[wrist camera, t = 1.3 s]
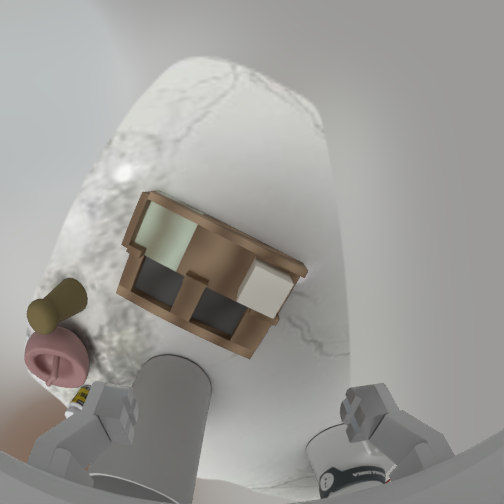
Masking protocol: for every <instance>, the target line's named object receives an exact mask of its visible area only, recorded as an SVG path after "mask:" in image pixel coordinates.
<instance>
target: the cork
mask: <svg viewBox="0 0 504 504" xmlns="http://www.w3.org/2000/svg"><path fill="white" fill-rule="evenodd" d="M86 305H87V294H86V291H85V289H84V287H83V286H82V285H81V283H80V282H78V281H77V280H75V279H73V278H67V279H64V280H63V281H62V282H61V283H60V284H59V285H58V286H57V287H55V288H54V289H53V290H52V291H51V292H50V293H49V294H48V295H47V296H46V297H45V298H44V299H37V300H34V301H33V302H32V303H31V304H30V305H29V307H28V310H27V318H28V322H29V324H30V326H31V327H32V328H33V330H35V331H36V332H37V333H39V334H42V335H47V334H50V333H52V332H53V331H54V330H55V328H56V327H57V324H58V323H59V322H61V321H63V320H65V319H67V318H69V317H71V316H73V315H75V314H77V313H79V312H81V311H83V310H84V309H85V307H86Z"/></svg>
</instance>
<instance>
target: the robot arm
mask: <svg viewBox="0 0 504 504" xmlns="http://www.w3.org/2000/svg"><path fill="white" fill-rule="evenodd" d="M346 396H347V398H346V399H345V400H344V401H342V404H341V407H340V415H341V419H342V422H343V423H344V424H343V425H339V426H336V427H333V428H330V429H328V430H326V431H324V432H322V433H320V434H319V435H317V436H316V437H315V438H314V439H313V440H312V441H311V442H310V443H309V444H308V446H307V448H306V455H307V457H308V459H309V461H310V463H311V468H312V470H313V471H314V472H315V475H316V478H317V480H318V483H319V492H320V497H321V499H318V500H312V501H305V502H298V503H290V504H504V429H502V430H501V431H499V432H497V433H496V434H494V435H493V436H491V437H489V438H488V439H486V440H484V441H482V442H481V443H479V444H477V445H476V446H474V447H472V448H470V449H468V450H466V451H464V452H462V453H460V454H458V455H456V456H455V455H454V453H453V452H452V450H451V448H450V446H449V444H448V442H447V441H446V439H445V437H444V435H443V434H441V433H440V432H438V431H436V430H434V429H433V428H431V427H429V426H428V425H426V424H424V423H423V422H421V421H419V420H418V419H416V418H414V417H413V416H411V415H409V414H408V413H406V412H405V411H403V410H402V411H399V408H398V407H397V405H396V403H395V401H394V399H393V398H392V396H391V394H390V392H389V390H388V388H387V387H386V385H385V384H384V383H380V384H374V385H366V386H360V387H353V388H349V389H348V390H347V392H346ZM133 397H134V390H133V388H132V387H126V386H120V385H115V384H110V383H104V382H99V381H95V382H94V383H93V384H92V386H91V388H90V391H89V393H88V396H87V398H86V400H85V403H84V405H83V408H82V410H81V412H80V411H77V412H76V413H74V414H73V415H71V416H70V417H68V418H67V419H65V420H64V421H62V422H61V423H59V424H58V425H56V426H55V427H53V428H52V429H50V430H49V431H48V432H46V433H44V434H43V435H41V436H40V437H38V438H37V440H36V442H35V444H34V447H33V449H32V452H31V454H30V457H29V459H28V462H27V463H24V462H22V461H20V460H18V459H16V458H14V457H12V456H10V455H8V454H6V453H4V452H2V451H0V504H173V503H165V502H157V501H151V500H145V499H139V498H134V497H129V496H124V495H119V494H115V493H111V492H107V491H103V490H99V489H95V488H92V487H93V483H94V480H93V479H92V477H91V476H90V475H89V474H88V473H87V472H86V471H85V470H84V469H85V468H86V467H87V466H88V465H89V464H90V463H91V462H92V461H93V460H95V459H96V458H97V457H98V456H99V455H100V454H101V453H102V452H103V451H104V450H105V449H106V448H107V447H108V446H109V445H110V444H111V442H115V443H121V444H127V445H132V442H133V438H134V433H135V431H134V428H133V425H135V424H136V423H137V420H138V412H139V409H138V403H137V400H135V399H134V398H133ZM394 463H395V464H396V465H397V467H396V468H395V469H394V470H393V471H392V472H391V473H390V475H389V477H390V479H389V480H388V481H386V482H385V474H386V473H387V472H388V471H389V469H390V468H391V467H392V466H393V465H394ZM390 480H391V482H389V481H390Z"/></svg>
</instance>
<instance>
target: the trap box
mask: <svg viewBox="0 0 504 504" xmlns="http://www.w3.org/2000/svg"><path fill="white" fill-rule="evenodd" d="M121 245H123V246H125V247H126V248H127V251H126V252H128V253H130V255H129V258H128V260H127V263H126V266H125V269H124V271H123V274H122V277H121V280H120V283H119V286H118V289H117V292H116V293H117V294H118V295H120V296H122V297H124V298H125V299H127V300H129V301H131V302H133V303H134V304H136V305H138V306H140V307H142V308H144V309H145V310H147V311H149V312H151V313H153V314H155V315H157V316H159V317H161V318H163V319H164V320H166V321H168V322H170V323H172V324H174V325H176V326H178V327H180V328H182V329H184V330H186V331H188V332H191V333H193V334H195V335H197V336H199V337H201V338H203V339H205V340H207V341H210V342H212V343H214V344H216V345H218V346H221V347H223V348H225V349H227V350H229V351H232V352H234V353H236V354H239V355H241V356H243V357H246V358H248V359H250V358H251V357H252V355H253V354H254V352H255V351H256V349H257V347H258V346H259V344H260V343H261V341H262V339H263V338H264V336H265V334H266V333H267V331H268V330H269V328H270V326H271V325H275V326H276V325H277V323H278V321H279V315H278V313H279V311H280V310H281V308H282V306H283V305H284V303H285V301H286V300H287V298H288V296H289V295H290V293H291V291H292V290H293V288H294V286H295V284H296V283H297V281H298V279H299V277H300V276H301V277H303V278H305V276H306V274H307V273H308V270H307V269H306V267H305V266H304V264H303V263H302V262H300V261H298V260H296V259H294V258H292V257H290V256H288V255H286V254H284V253H282V252H280V251H278V250H276V249H274V248H272V247H270V246H269V245H267V244H265V243H263V242H261V241H259V240H257V239H255V238H253V237H251V236H249V235H247V234H245V233H243V232H241V231H239V230H237V229H235V228H233V227H231V226H229V225H227V224H225V223H223V222H221V221H219V220H217V219H215V218H213V217H211V216H209V215H207V214H205V213H203V212H201V211H199V210H197V209H195V208H193V207H191V206H189V205H187V204H185V203H183V202H181V201H179V200H177V199H175V198H173V197H171V196H169V195H167V194H165V193H163V192H161V191H154V192H153V191H151V192H142V194H141V197H140V199H139V201H138V204H137V206H136V209H135V211H134V213H133V216H132V218H131V221H130V223H129V226H128V228H127V231H126V234H125V236H124V239H123V242H122V244H121ZM255 257H257V258H259V259H261V260H263V261H265V262H267V263H269V264H271V265H273V266H275V267H277V268H279V269H281V270H283V271H285V272H287V273H289V274H290V276H291V279H292V281H293V284H294V285H293V287H292V289H291V290H290V292H289V294H288V295H287V297H286V299H285V300H284V302H283V304H282V306H281V307H280V309H279V311H278V312H277V314H276V316H275V317H274V319H272V318H270V317H268V316H266V315H264V314H262V313H259V312H257V311H255V310H253V309H251V308H249V307H247V306H244V305H242V304H240V303H238V302H237V294H238V288H239V287H240V285H241V283H242V281H243V279H244V277H245V275H246V274H247V272H248V270H249V268H250V266H251V264H252V262H253V260H254V259H255Z"/></svg>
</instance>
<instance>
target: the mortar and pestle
mask: <svg viewBox="0 0 504 504" xmlns="http://www.w3.org/2000/svg"><path fill="white" fill-rule="evenodd" d="M24 360H25V363H26V365H27V367H28V368H29V370H30V371H31V372H32V373H33V374H35V375H36V376H37V377H39V378H40V379H42V380H43V381H45V382H46V385H47V386H51V384H52V385H55V386H59V387H65V388H76V387H80V386H81V385H83V384H84V383H85V381H86V379H87V376H88V372H89V358H88V354H87V351H86V348H85V346H84V344H83V343H82V341H81V340H80V339H79V338H78V337H77V336H76V335H75V334H74V333H73V332H71V331H70V330H68V329H66V328H64V327H61V326H57V327H56V328H55V330H54V331H53V332H52V333H50V334H47V335H42V334H39V333H37V332H36V331H35V332H34V333H33V334H32V335H31V337H30V338H29V340H28V342H27V345H26V348H25V358H24Z"/></svg>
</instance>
